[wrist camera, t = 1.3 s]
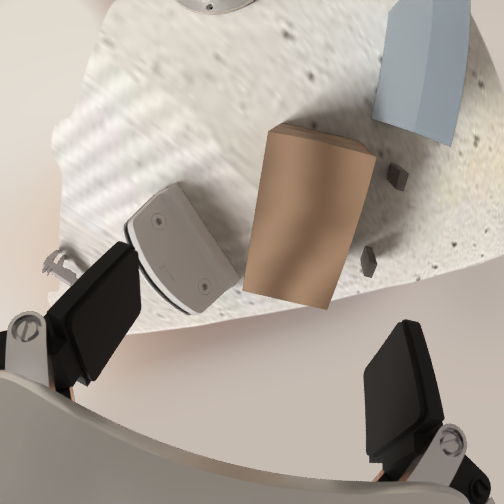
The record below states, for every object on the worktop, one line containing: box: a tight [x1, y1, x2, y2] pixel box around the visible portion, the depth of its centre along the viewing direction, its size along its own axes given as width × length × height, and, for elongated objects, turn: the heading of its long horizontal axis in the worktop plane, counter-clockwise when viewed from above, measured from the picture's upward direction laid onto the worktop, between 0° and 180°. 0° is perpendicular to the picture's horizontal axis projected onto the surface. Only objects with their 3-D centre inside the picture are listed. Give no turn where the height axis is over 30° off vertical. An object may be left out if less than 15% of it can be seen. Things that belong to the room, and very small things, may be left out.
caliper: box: [42, 250, 78, 286], centre depth 48 cm, size 20×1×6 cm, turn 51°
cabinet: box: [242, 123, 408, 310], centre depth 30 cm, size 14×16×10 cm
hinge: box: [122, 183, 240, 315], centre depth 38 cm, size 17×5×10 cm, turn 31°
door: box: [371, 0, 470, 147], centre depth 18 cm, size 4×14×15 cm, turn 171°
